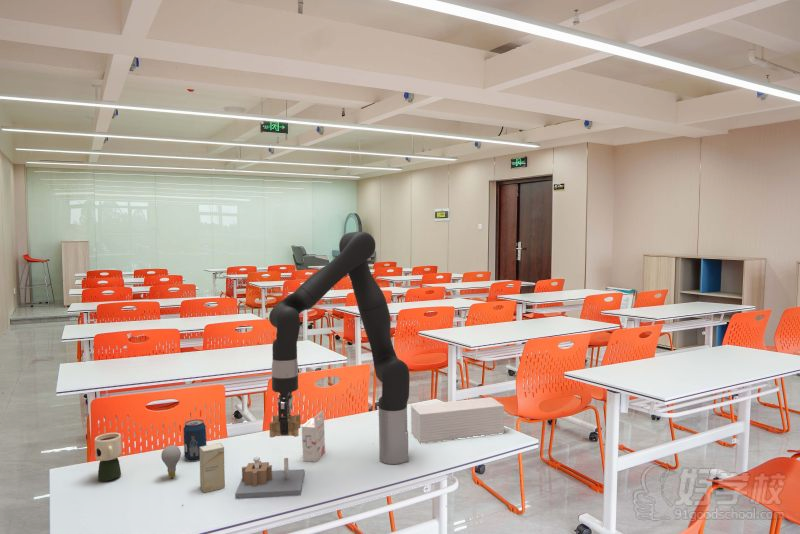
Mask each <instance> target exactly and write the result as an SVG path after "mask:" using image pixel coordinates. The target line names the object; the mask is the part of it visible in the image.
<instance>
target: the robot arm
mask: <svg viewBox="0 0 800 534" xmlns="http://www.w3.org/2000/svg"><path fill="white" fill-rule="evenodd" d="M338 245H339V246H338V247H339V248H338V249H339V254H338V255H337V256H336V257H334V258H333V260H331V261H330V262H329V263H327V264H326V265H324V266H323V267H321V268H320V269H318V270H317V271H315V272H314V273H313V274H312V275H310V276H309V277H308V278H306V280H305V281H304V282H302V284H301V285H299V287H297V288H296V290H295V291H293V292H292V293H290V294H289V295H287V296H286V297H284V298H283V299H282V300H280V301H279V302H278V303H277V304H276V305H274V307H273V308H272V309H271V311H270V312H269V316H268V318H269V323H270V324H271V326H273V327H274V328H276V338H274V340H273V342H272V350H271V351H272V363H271V390H272V391H273V392H274V393H279V394H278V397H277V406H278V408H277V413H278V414H277V415H278V416H279V419H278V421H279V422H280V434H281V435H287V434H288V421H289V416H290V415H291V414H292V409H293V398H294V396H293V392H296V391H297V390H298V389H299V364H298V345H297V344H298V339H299V334H300V328H301V316H300V314H301V313H302V312H304V311H306V310H311V309H312V308H313V307H315V305H317V303H319V301H321V299H322V298H323V297H325V295H326V294H327V293H328V292H329V291H330V290H332V288H334V286H335V285H337V283H339V282H340V281H341V280H342V279H343V278H344V277H346V276H347V275H348V276H349V279H350V284H351V287H352V291H353V293H354V297H355V301H356V304H357V305H356V306H357V309H358V312H359V316H360V319H361V323H362V325H363V328H364V332H365V334H366V338H367V340H368V343H369V346H370V350H371V355H372V362H373V366H374V367H373V368H374V373H375V375H376V377H377V379H378V381H380V382H381V387H382V388H381V396H380V397H379V398H378V443H379V445H378V448H379V449H378V450H379V452H378V453H379V455H378V456H379V457H378V458H379V461H380V462H382V463H384V464H388V465H398V464H399V465H400V464H403V463H405V462H406V463H407V462H410V461H409V459H410V458H409V455H410V453H409V430H408V401H409V398H410V377H411V376H410V370H409V367H408V364H407V363H406V362H404V361H403V360H401V359H399V357H398V356H397V354H396V351H395V349H394V346H393V342H392V336H391V330H392V329H391V326H392V325H391V321H392V320H391V314H390V309H389V305H388V303H387V298H386V296H385V294H384V292H383V290H382V289H381V287H380V286H379V284H378V282H377V281H376V279H375V277H374V276H373V274H372V272H371V269H370V266H369V261H368V260H369V259H371V257H372V256H373V254H374V253H375V251H376V240H375V239H374V237H373V236H372V235H371V234H370V233H369V232H365V231H353V232H352V231H351V232H347V233H345V234H344V235H342V237H341V238H340V239H339V244H338ZM282 416H286V417H282Z"/></svg>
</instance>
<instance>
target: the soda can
mask: <svg viewBox="0 0 800 534" xmlns="http://www.w3.org/2000/svg"><path fill="white" fill-rule="evenodd" d="M202 446H207V426H206V424H205V421H204V420H203V419H191V420H188V421H186V422H185V423H184V427H183V453H184V455H183V456H184V458H185V459H186V460H187V461H188V460H189V461H188V462H197V461H196V460H198V461H200V450H199V447H202Z"/></svg>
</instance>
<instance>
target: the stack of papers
mask: <svg viewBox="0 0 800 534" xmlns="http://www.w3.org/2000/svg"><path fill="white" fill-rule="evenodd" d="M504 408H505V405H504V404H502V403H501V402H499V401H497V400H496V399H495V398H494V397H491V396H490V397H479V398H471V399H464V400H463V399H461V400H451V401H442V402H432V403H422V404H413V405H412V404H411V405H410V426H411V427H410V431H411V432H410V434H411V433H412V434H411V435H412V436H413V437H414V439H415V438H416V439H417V440H418V441H417V440H416V439H415V440H416V441H417V442H418V443H419V444H420V445H422V444H421V443H425V444H429V443H428V442H433V443H437V442H436V441H441V442H444V441H443V440H450V441H452V440H451V439H458V438H466V439H468V438H467V437H473V436H481V435H491V434H499V433H504V434H505V409H504ZM499 435H500V434H499ZM491 436H492V435H491ZM458 440H459V439H458Z"/></svg>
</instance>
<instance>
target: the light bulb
mask: <svg viewBox="0 0 800 534" xmlns="http://www.w3.org/2000/svg"><path fill="white" fill-rule="evenodd" d="M181 456H182V452H181V449H180V447H178V446H177V445H172V444H171V445H168V446H166V447H164V449H162V451H161V456H160V458H161V460H162V462H163V463H164V464H165V466H166V467H167V474H168V476H167V477H168V478H169V479H174V478H175V477H176V470H177V468H176V467H177V465H178V463H179V461H180V459H181Z"/></svg>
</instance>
